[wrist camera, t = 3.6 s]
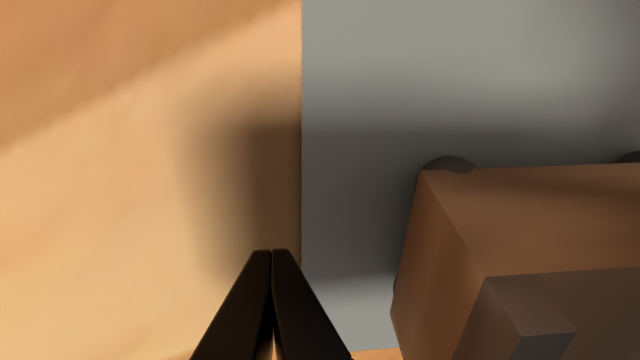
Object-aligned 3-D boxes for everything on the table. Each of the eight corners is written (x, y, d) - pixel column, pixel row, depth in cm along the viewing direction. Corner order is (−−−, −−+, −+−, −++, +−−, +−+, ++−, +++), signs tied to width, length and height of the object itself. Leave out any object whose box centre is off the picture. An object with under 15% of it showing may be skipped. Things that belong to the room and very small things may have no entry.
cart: (380, 288, 12) (439, 482, 8) (406, 144, 9) (524, 332, 5) (583, 274, 12) (735, 444, 8) (669, 137, 10) (966, 293, 5)
